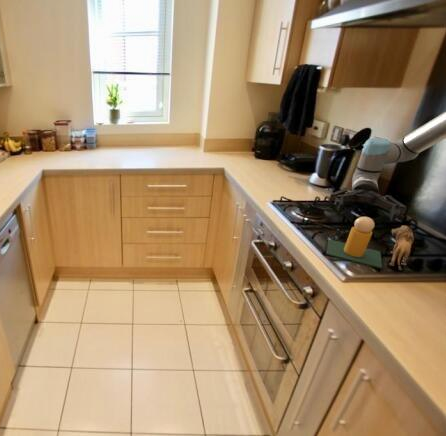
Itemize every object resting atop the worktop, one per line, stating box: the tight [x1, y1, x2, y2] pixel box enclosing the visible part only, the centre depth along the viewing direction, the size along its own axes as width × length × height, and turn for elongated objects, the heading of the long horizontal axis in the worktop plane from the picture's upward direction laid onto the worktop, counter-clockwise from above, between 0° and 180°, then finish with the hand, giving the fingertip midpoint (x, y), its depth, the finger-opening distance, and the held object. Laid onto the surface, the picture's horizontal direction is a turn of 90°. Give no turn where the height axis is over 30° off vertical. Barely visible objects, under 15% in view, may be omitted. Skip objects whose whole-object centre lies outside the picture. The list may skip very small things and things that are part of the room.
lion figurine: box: [388, 225, 415, 271], centre depth 95 cm, size 15×5×9 cm, turn 149°
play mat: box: [325, 239, 383, 270], centre depth 99 cm, size 14×10×1 cm
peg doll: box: [344, 216, 376, 257], centre depth 96 cm, size 5×5×12 cm
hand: (366, 212), depth 98 cm, fingers open, 13 cm apart
